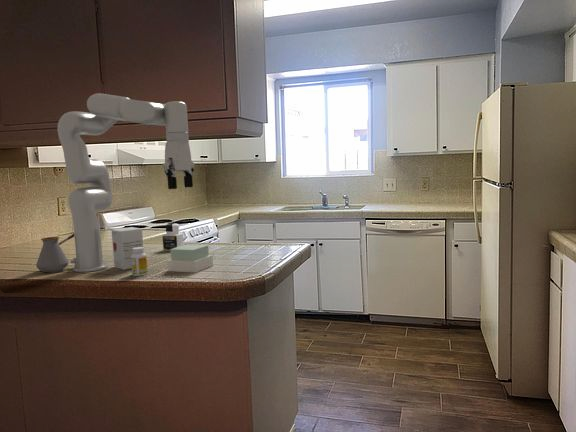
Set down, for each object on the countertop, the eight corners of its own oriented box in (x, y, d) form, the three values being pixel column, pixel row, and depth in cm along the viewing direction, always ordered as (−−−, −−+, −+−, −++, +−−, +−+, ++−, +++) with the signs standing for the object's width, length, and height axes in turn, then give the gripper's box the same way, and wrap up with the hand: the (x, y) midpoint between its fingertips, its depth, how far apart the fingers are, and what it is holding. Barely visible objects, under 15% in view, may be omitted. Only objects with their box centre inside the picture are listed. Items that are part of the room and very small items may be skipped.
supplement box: (113, 267, 196) (110, 229, 194) (135, 263, 202) (132, 226, 200) (123, 270, 189) (120, 231, 188) (145, 266, 195) (142, 228, 194)
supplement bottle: (149, 272, 183) (147, 246, 182) (145, 275, 178) (143, 248, 176) (134, 273, 183) (132, 247, 182) (130, 276, 177) (128, 249, 176)
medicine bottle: (163, 250, 230) (161, 224, 229) (170, 248, 237) (168, 222, 236) (177, 250, 228) (175, 224, 227) (184, 248, 235) (182, 222, 234)
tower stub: (167, 271, 184) (166, 249, 183) (186, 264, 195) (185, 244, 194) (195, 272, 179) (194, 250, 178) (213, 265, 190) (211, 244, 189)
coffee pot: (46, 275, 186) (42, 235, 184) (31, 272, 193) (27, 233, 191) (97, 264, 203) (94, 228, 201) (82, 262, 210) (79, 226, 208)
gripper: (182, 139, 181) (185, 186, 183) (152, 138, 166) (156, 189, 167) (200, 138, 179) (203, 186, 180) (171, 136, 163) (175, 189, 164)
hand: (180, 188), depth 174 cm, fingers open, 9 cm apart
